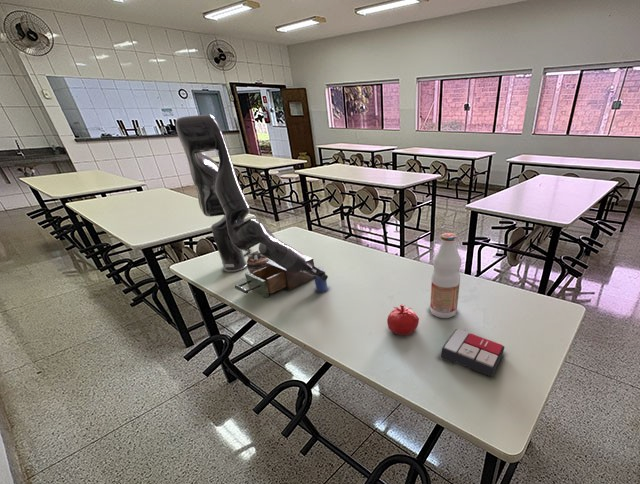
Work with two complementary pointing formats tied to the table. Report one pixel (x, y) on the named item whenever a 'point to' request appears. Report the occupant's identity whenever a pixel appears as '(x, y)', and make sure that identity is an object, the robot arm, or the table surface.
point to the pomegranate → (402, 321)
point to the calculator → (473, 352)
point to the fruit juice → (445, 278)
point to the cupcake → (256, 261)
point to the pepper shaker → (320, 282)
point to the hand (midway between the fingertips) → (318, 275)
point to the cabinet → (293, 274)
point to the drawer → (264, 281)
